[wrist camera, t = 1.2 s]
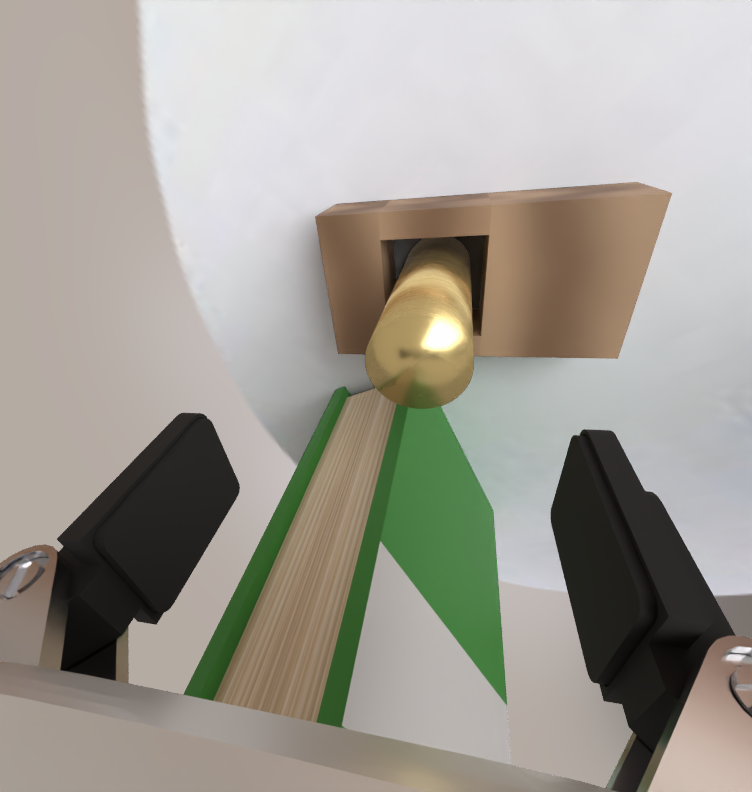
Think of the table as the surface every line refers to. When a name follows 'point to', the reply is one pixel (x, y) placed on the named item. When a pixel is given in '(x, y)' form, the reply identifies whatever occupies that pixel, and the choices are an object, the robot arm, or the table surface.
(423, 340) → the peg
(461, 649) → the hardback book
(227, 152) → the table surface
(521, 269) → the eye block
